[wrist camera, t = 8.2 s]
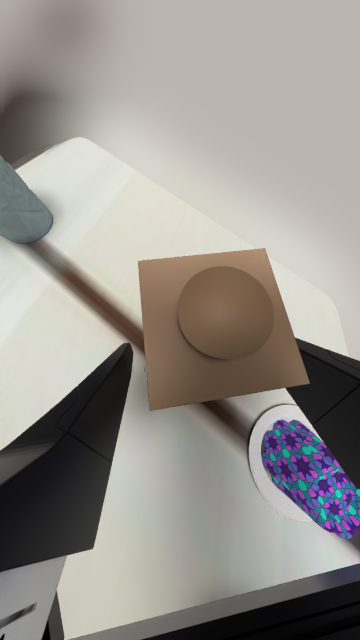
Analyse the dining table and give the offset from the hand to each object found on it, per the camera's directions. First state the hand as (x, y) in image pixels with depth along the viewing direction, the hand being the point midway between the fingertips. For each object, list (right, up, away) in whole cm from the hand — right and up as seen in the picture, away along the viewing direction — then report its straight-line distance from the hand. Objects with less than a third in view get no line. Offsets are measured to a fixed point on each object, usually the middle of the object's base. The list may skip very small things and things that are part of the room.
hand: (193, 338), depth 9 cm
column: (0, -1, +8) cm, 8 cm away
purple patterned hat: (+14, -16, +8) cm, 22 cm away
